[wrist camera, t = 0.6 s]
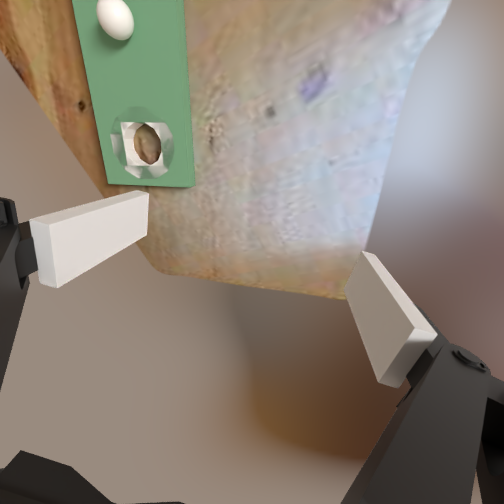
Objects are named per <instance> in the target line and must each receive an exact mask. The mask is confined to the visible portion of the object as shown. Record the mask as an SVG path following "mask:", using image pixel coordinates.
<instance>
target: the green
mask: <svg viewBox="0 0 504 504" xmlns="http://www.w3.org/2000/svg"><path fill="white" fill-rule="evenodd" d="M123 1H124V2H125V4H126V5H127V6H128V8H129V9H130V11H131V13H132V16H133V19H134V30H133V33H132V35H131V36H130V37H129V38H128V39H126V40H117V39H114V38H113V37H111V36H110V35H108V34H107V33H106V32H105V31H104V29H103V28H102V26H101V25H100V23H99V20H98V17H97V12H96V7H97V3H98V0H72V3H73V9H74V14H75V19H76V24H77V29H78V34H79V39H80V44H81V49H82V54H83V59H84V64H85V69H86V74H87V79H88V84H89V89H90V94H91V99H92V104H93V109H94V114H95V119H96V124H97V130H98V135H99V140H100V145H101V150H102V155H103V160H104V165H105V170H106V175H107V180H108V184H124V185H147V186H169V187H192V186H195V172H194V156H193V141H192V126H191V110H190V95H189V79H188V64H187V49H186V33H185V18H184V3H183V0H123ZM143 124H148V125H149V126H151V127H152V128H154V129H155V131H156V133H157V134H158V136H159V138H160V140H161V149H162V152H161V154H160V157H159V159H158V161H157V162H155V163H154V164H152V165H148V164H147V163H145V162H144V161H142V160H141V159H140V158H139V156H138V155H137V153H136V152H135V149H134V143H133V138H134V135H135V132H136V130H137V129H138V128H139V127H141V126H142V125H143Z"/></svg>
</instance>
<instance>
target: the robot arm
mask: <svg viewBox="0 0 504 504" xmlns="http://www.w3.org/2000/svg"><path fill="white" fill-rule="evenodd" d="M148 202H149V193H146V192H142V191H138V190H136V191H132V192H128V193H125V194H121V195H117V196H113V197H110V198H106V199H102V200H99V201H95V202H91V203H88V204H84V205H80V206H77V207H73V208H69V209H65V210H62V211H58V212H54V213H50V214H47V215H43V216H39V217H35V218H32V219H29V221H27V222H23V223H20V224H18V219H17V213H16V208H15V203H14V201H12V200H10V199H6V198H1V197H0V390H1V386H2V383H3V379H4V375H5V372H6V368H7V364H8V361H9V357H10V353H11V350H12V346H13V342H14V339H15V335H16V331H17V328H18V324H19V320H20V317H21V313H22V309H23V306H24V302H25V298H26V295H27V291H28V287H29V284H30V282H29V277H28V275H29V274H31V273H33V272H35V271H37V270H38V275H39V282H40V283H41V284H44V285H47V286H51V287H55V288H59V287H60V286H62V285H64V284H65V283H67V282H69V281H71V280H72V279H74V278H76V277H77V276H79V275H81V274H82V273H84V272H85V271H87V270H89V269H91V268H92V267H94V266H96V265H97V264H99V263H101V262H102V261H104V260H106V259H107V258H109V257H111V256H112V255H114V254H116V253H117V252H119V251H121V250H122V249H124V248H126V247H127V246H129V245H131V244H132V243H134V242H136V241H137V240H139V239H141V238H142V237H144V236H146V235H147V222H148ZM344 292H345V295H346V298H347V300H348V303H349V306H350V308H351V311H352V314H353V316H354V319H355V322H356V324H357V327H358V329H359V332H360V335H361V338H362V340H363V343H364V346H365V348H366V351H367V354H368V356H369V359H370V362H371V364H372V367H373V370H374V372H375V375H376V378H377V381H378V383H382V384H385V385H388V386H392V387H396V388H399V386H400V385H401V384H402V382H403V381H404V380H405V378H406V377H407V379H408V381H409V383H410V385H411V388H410V389H409V391H408V392H407V393H406V395H405V396H404V397H403V398H402V400H401V401H400V402H399V404H398V405H397V406H396V407H397V410H396V411H395V413H394V415H393V416H392V418H391V420H390V421H389V423H388V425H387V426H386V428H385V430H384V432H383V433H382V435H381V437H380V438H379V440H378V442H377V443H376V445H375V447H374V448H373V450H372V452H371V453H370V455H369V457H368V458H367V460H366V462H365V463H364V465H363V467H362V468H361V470H360V472H359V474H358V475H357V477H356V478H355V480H354V482H353V484H352V485H351V487H350V488H349V490H348V492H347V493H346V495H345V497H344V499H343V500H342V502H341V504H470V503H471V496H472V490H473V483H474V478H475V471H476V472H477V477H478V483H479V487H480V493H481V499H482V504H504V382H503V381H501V380H499V379H497V378H495V377H493V376H491V373H490V369H489V368H488V367H487V366H486V364H485V363H484V362H483V361H482V360H480V359H479V358H478V357H477V356H475V355H474V354H472V353H471V352H469V351H467V350H466V349H464V348H462V347H460V346H457V345H454V344H450V343H449V342H448V340H447V339H446V338H445V337H444V336H443V335H442V333H441V332H440V331H439V329H438V328H437V327H436V326H434V323H433V322H432V321H431V320H430V319H429V317H428V316H427V315H426V314H425V312H424V311H423V310H422V309H421V308H419V307H418V306H417V305H416V304H414V303H413V302H412V301H411V300H410V299H409V297H407V295H406V294H405V292H404V291H403V290H402V289H401V287H400V286H399V285H398V284H397V282H396V281H395V280H394V279H393V277H392V276H391V275H390V273H389V272H388V271H387V270H386V268H385V267H384V266H383V265H382V263H381V262H380V261H379V260H378V258H377V257H376V256H375V255H374V254H370V253H367V252H363V251H362V252H361V254H360V256H359V258H358V260H357V262H356V264H355V266H354V269H353V271H352V273H351V275H350V277H349V279H348V281H347V283H346V286H345V288H344ZM0 504H115V503H113V502H111V501H110V500H108V499H107V498H106V497H105V496H104V495H103V494H102V493H100V492H99V491H98V490H97V489H96V488H95V487H94V486H92V485H91V484H90V483H89V482H88V481H87V480H86V479H85V478H83V477H82V476H81V475H80V474H79V473H78V472H77V471H75V470H74V469H73V468H72V467H71V466H67V465H65V464H61V463H58V462H55V461H52V460H49V459H46V458H43V457H40V456H37V455H34V454H31V453H27V452H25V451H20V452H19V453H18V454H17V455H16V456H15V457H14V458H13V459H12V461H11V462H10V463H9V464H8V465H7V466H6V467H5V468H2V469H0ZM138 504H184V503H181V502H160V503H138Z"/></svg>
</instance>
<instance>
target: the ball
mask: <svg viewBox="0 0 504 504" xmlns="http://www.w3.org/2000/svg"><path fill="white" fill-rule="evenodd" d="M96 12H97V17H98V20H99V23H100V25H101V26H102V28H103V29H104V31H105V32H106V33H107V34H108V35H110V36H111V37H113V38H114V39H117V40H126V39H128V38H129V37H130V36H131V35H132V33H133V30H134V19H133V16H132V13H131V11H130V9H129V8H128V6H127V5H126V4H125V2H124V1H123V0H98V3H97V7H96Z"/></svg>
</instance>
